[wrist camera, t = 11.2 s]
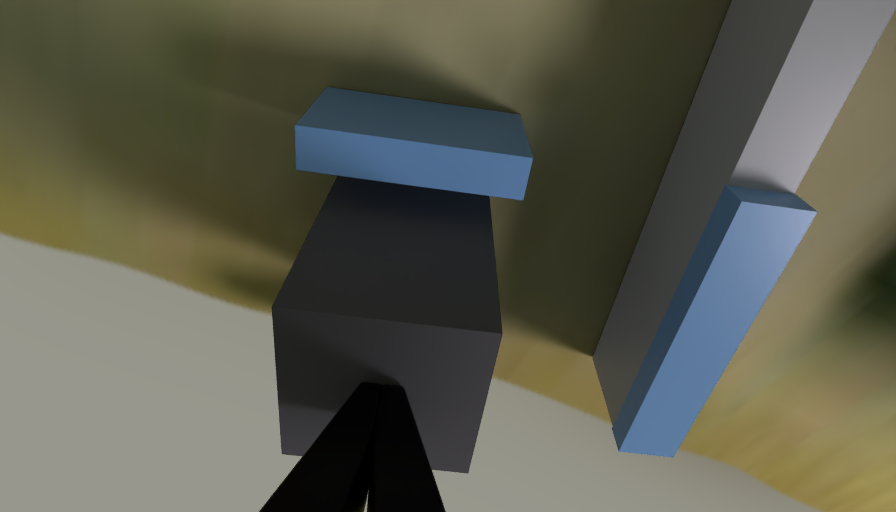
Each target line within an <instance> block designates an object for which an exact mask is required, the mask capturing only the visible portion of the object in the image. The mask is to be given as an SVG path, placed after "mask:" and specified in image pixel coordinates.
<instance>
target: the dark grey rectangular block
mask: <svg viewBox="0 0 896 512" xmlns="http://www.w3.org/2000/svg"><path fill="white" fill-rule="evenodd" d="M272 318H273V332H274V347H275V362H276V376H277V390H278V405H279V419H280V435H281V449H282V454H286V455H296V456H303V455H304V454H305V453H306V451H307V450H308V449H309V448H310V446H311V445H312V444H313V442H314V441H315V440H316V439H317V437H318V436H319V435H320V433H321V432H322V431H323V430H324V428H325V427H326V426H327V425H328V423H329V422H330V421H331V419H332V418H333V417H334V416H335V414H336V413H337V412H338V411H339V409H340V408H341V407H342V405H343V404H344V403H345V402H346V400H347V399H348V398H349V397H350V395H351V394H352V393H353V391H354V390H355V389H356V388H357V386H358V385H359V384H360V383H362V382H371V383H379V384H381V385H382V388H383V386H384V385H385V384H388V385H397V386H403V387H404V389H405V391H406V394H407V397H408V400H409V403H410V406H411V409H412V412H413V415H414V418H415V421H416V424H417V427H418V430H419V433H420V436H421V439H422V442H423V445H424V448H425V451H426V454H427V457H428V460H429V463H430V466H431V469H432V470H441V471H451V472H460V473H468V472H469V468H470V463H471V459H472V455H473V451H474V447H475V443H476V439H477V435H478V431H479V426H480V423H481V419H482V415H483V411H484V406H485V403H486V398H487V394H488V390H489V386H490V382H491V378H492V374H493V370H494V366H495V362H496V358H497V354H498V350H499V346H500V342H501V338H502V324H501V314H500V303H499V293H498V282H497V272H496V261H495V251H494V240H493V230H492V220H491V209H490V199H489V196H486V195H479V194H471V193H464V192H457V191H449V190H442V189H434V188H427V187H419V186H412V185H404V184H397V183H390V182H382V181H375V180H367V179H360V178H352V177H345V176H337V178H336V180H335V182H334V184H333V186H332V188H331V190H330V192H329V194H328V196H327V198H326V200H325V202H324V204H323V206H322V208H321V210H320V212H319V214H318V216H317V218H316V220H315V222H314V224H313V226H312V228H311V230H310V232H309V234H308V236H307V238H306V240H305V242H304V244H303V246H302V248H301V250H300V252H299V254H298V256H297V258H296V260H295V262H294V264H293V266H292V268H291V270H290V272H289V274H288V276H287V278H286V280H285V282H284V284H283V286H282V288H281V290H280V292H279V294H278V296H277V298H276V300H275V302H274V303H273V305H272Z"/></svg>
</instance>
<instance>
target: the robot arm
mask: <svg viewBox="0 0 896 512" xmlns="http://www.w3.org/2000/svg"><path fill="white" fill-rule="evenodd" d="M368 490H369V491H368ZM367 495H368V504H367V512H446V511H445V509H444V505H443V502H442V500H441V496H440V494H439V490H438V487H437V485H436V481H435V478H434V475H433V472H432V469H431V466H430V463H429V460H428V457H427V454H426V451H425V448H424V445H423V442H422V439H421V436H420V433H419V430H418V427H417V424H416V421H415V418H414V415H413V412H412V409H411V406H410V403H409V400H408V397H407V394H406V391H405V389H404V387H403V386H397V385H388V384H385V385H384V386H383V388H382V385H381V384H379V383H371V382H362V383H360V384H359V385H358V386H357V388H356V389H355V390H354V391H353V393H352V394H351V395H350V397H349V398H348V399H347V400H346V402H345V403H344V404H343V405H342V407H341V408H340V409H339V411H338V412H337V413H336V414H335V416H334V417H333V418H332V419H331V421H330V422H329V423H328V425H327V426H326V427H325V428H324V430H323V431H322V432H321V433H320V435H319V436H318V437H317V439H316V440H315V441H314V442H313V444H312V445H311V446H310V448H309V449H308V450H307V451H306V453H305V454H304V455H303V456H302V458H301V459H300V460H299V462H298V463H297V464H296V465H295V467H294V468H293V469H292V471H291V472H290V473H289V474H288V476H287V477H286V478H285V479H284V481H283V482H282V483H281V484H280V486H279V487H278V488H277V490H276V491H275V492H274V493H273V495H272V496H271V497H270V499H269V500H268V501H267V502H266V504H265V505H264V506H263V507H262V509H261V510H260V511H259V512H364V508H365V504H366V500H367Z"/></svg>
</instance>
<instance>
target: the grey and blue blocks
mask: <svg viewBox="0 0 896 512" xmlns="http://www.w3.org/2000/svg"><path fill="white" fill-rule="evenodd" d="M895 9H896V0H732V1H731V4H730V6H729V9H728V11H727V14H726V16H725V19H724V22H723V24H722V27H721V29H720V32H719V34H718V37H717V40H716V42H715V45H714V47H713V50H712V52H711V55H710V57H709V60H708V63H707V65H706V68H705V70H704V73H703V75H702V78H701V81H700V83H699V86H698V88H697V91H696V93H695V96H694V99H693V101H692V104H691V106H690V109H689V111H688V114H687V116H686V119H685V122H684V124H683V127H682V129H681V132H680V134H679V137H678V140H677V142H676V145H675V147H674V150H673V152H672V155H671V158H670V160H669V163H668V165H667V168H666V170H665V173H664V175H663V178H662V181H661V183H660V186H659V188H658V191H657V193H656V196H655V199H654V201H653V204H652V206H651V209H650V211H649V214H648V217H647V219H646V222H645V224H644V227H643V229H642V232H641V235H640V237H639V240H638V242H637V245H636V247H635V250H634V252H633V255H632V258H631V260H630V263H629V265H628V268H627V270H626V273H625V276H624V278H623V281H622V283H621V286H620V288H619V291H618V294H617V296H616V299H615V301H614V304H613V306H612V309H611V311H610V314H609V317H608V319H607V322H606V324H605V327H604V329H603V332H602V335H601V337H600V340H599V342H598V345H597V347H596V350H595V353H594V355H593V361H594V365H595V368H596V371H597V375H598V378H599V381H600V385H601V388H602V391H603V395H604V398H605V402H606V405H607V408H608V412H609V415H610V418H611V422H612V425H613V427H612V430H613V434H614V437H615V440H616V444H617V447H618V451H619V452H629V453H638V454H647V455H656V456H665V457H674V455H675V453H676V452H677V450H678V448H679V447H680V445H681V443H682V441H683V440H684V438H685V436H686V435H687V433H688V431H689V430H690V428H691V426H692V424H693V423H694V421H695V419H696V418H697V416H698V414H699V413H700V411H701V409H702V407H703V406H704V404H705V402H706V401H707V399H708V397H709V396H710V394H711V392H712V390H713V389H714V387H715V385H716V384H717V382H718V380H719V379H720V377H721V375H722V373H723V372H724V370H725V368H726V367H727V365H728V363H729V362H730V360H731V358H732V356H733V355H734V353H735V351H736V350H737V348H738V346H739V345H740V343H741V341H742V339H743V338H744V336H745V334H746V333H747V331H748V329H749V328H750V326H751V324H752V322H753V321H754V319H755V317H756V316H757V314H758V312H759V310H760V309H761V307H762V305H763V304H764V302H765V300H766V299H767V297H768V295H769V293H770V292H771V290H772V288H773V287H774V285H775V283H776V282H777V280H778V278H779V276H780V275H781V273H782V271H783V270H784V268H785V266H786V265H787V263H788V261H789V259H790V258H791V256H792V254H793V253H794V251H795V249H796V248H797V246H798V244H799V242H800V241H801V239H802V237H803V236H804V234H805V232H806V231H807V229H808V227H809V225H810V224H811V222H812V220H813V219H814V217H815V215H816V214H817V211H816V210H815V209H813V208H812V207H811V206H810V205H808V204H807V203H806V202H805V201H803V200H802V199H801V198H800V197H798V196H797V195H795V194H794V193H795V192H796V190H797V188H798V186H799V184H800V182H801V181H802V179H803V177H804V175H805V173H806V172H807V170H808V168H809V166H810V164H811V162H812V161H813V159H814V157H815V155H816V153H817V152H818V150H819V148H820V146H821V144H822V142H823V141H824V139H825V137H826V135H827V133H828V131H829V130H830V128H831V126H832V124H833V122H834V121H835V119H836V117H837V115H838V113H839V111H840V110H841V108H842V106H843V104H844V102H845V100H846V99H847V97H848V95H849V93H850V91H851V90H852V88H853V86H854V84H855V82H856V80H857V79H858V77H859V75H860V73H861V71H862V70H863V68H864V66H865V64H866V62H867V60H868V59H869V57H870V55H871V53H872V51H873V49H874V48H875V46H876V44H877V42H878V40H879V39H880V37H881V35H882V33H883V31H884V29H885V28H886V26H887V24H888V22H889V20H890V18H891V17H892V15H893V13H894V11H895ZM295 153H296V170H300V171H308V172H315V173H323V174H330V175H338V176H345V177H352V178H360V179H367V180H375V181H382V182H390V183H397V184H404V185H412V186H419V187H427V188H434V189H442V190H449V191H457V192H464V193H471V194H479V195H486V196H494V197H501V198H509V199H516V200H523V199H524V195H525V191H526V186H527V182H528V178H529V174H530V170H531V165H532V161H533V156H532V152H531V149H530V146H529V142H528V139H527V136H526V132H525V129H524V126H523V122H522V119H521V116H520V114H513V113H506V112H499V111H492V110H485V109H478V108H471V107H464V106H457V105H450V104H443V103H436V102H429V101H422V100H415V99H408V98H401V97H394V96H387V95H380V94H373V93H366V92H359V91H352V90H345V89H338V88H331V87H327V88H326V89H325V90H324V91H323V92H322V94H321V95H320V96H319V97H318V98H317V100H316V101H315V102H314V103H313V104H312V105H311V107H310V108H309V109H308V110H307V111H306V112H305V114H304V115H303V116H302V117H301V118H300V120H299V121H298V122H297V123H296V124H295Z"/></svg>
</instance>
